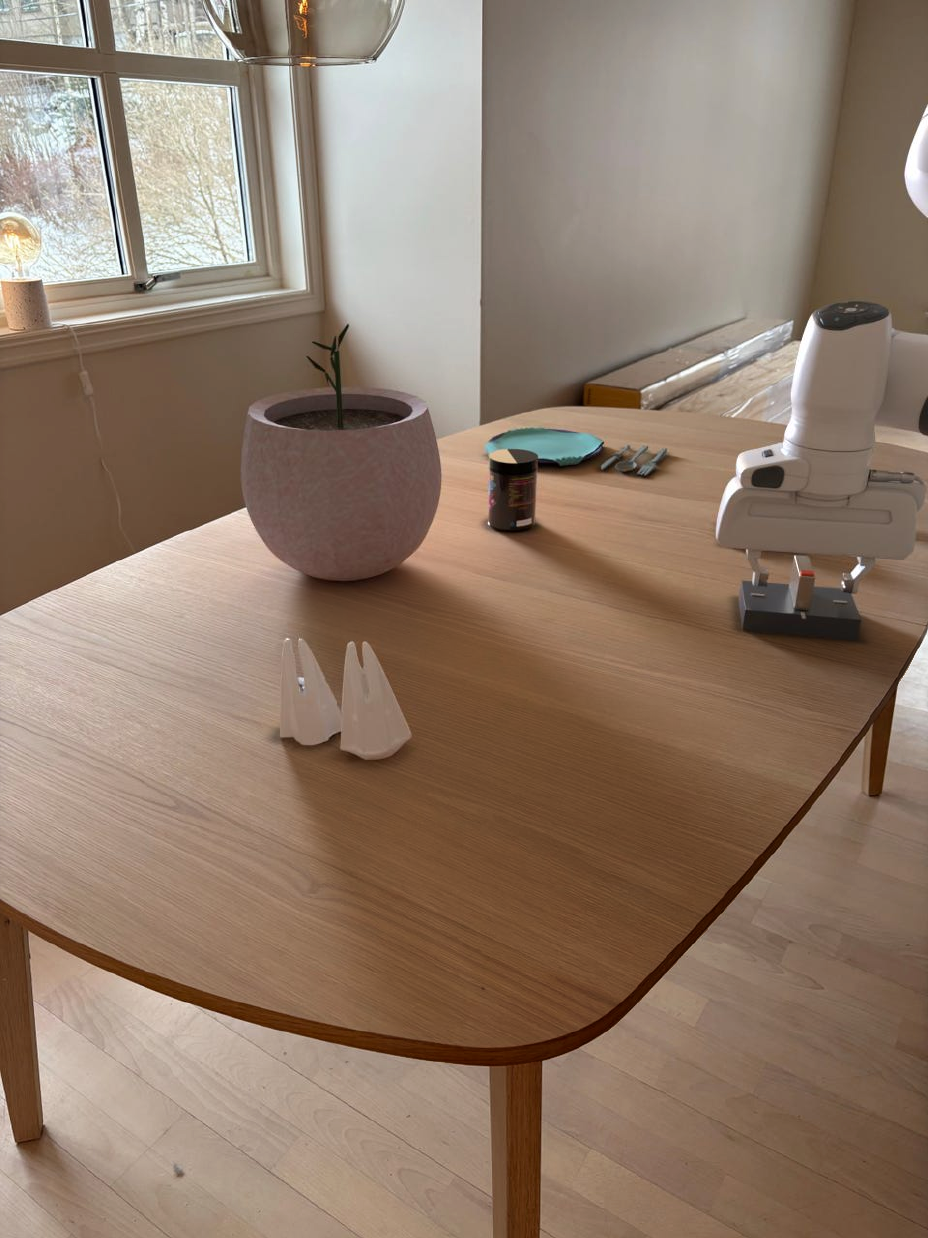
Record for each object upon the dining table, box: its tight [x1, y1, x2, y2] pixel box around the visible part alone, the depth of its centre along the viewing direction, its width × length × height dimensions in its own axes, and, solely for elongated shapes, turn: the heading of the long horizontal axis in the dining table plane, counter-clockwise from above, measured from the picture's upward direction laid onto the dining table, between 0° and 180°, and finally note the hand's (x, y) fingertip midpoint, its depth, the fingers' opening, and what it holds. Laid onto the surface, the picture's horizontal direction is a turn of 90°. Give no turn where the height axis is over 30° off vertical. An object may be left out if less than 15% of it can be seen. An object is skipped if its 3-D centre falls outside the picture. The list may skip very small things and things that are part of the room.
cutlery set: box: [484, 426, 668, 477], centre depth 163 cm, size 20×30×2 cm, turn 64°
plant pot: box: [240, 323, 442, 582], centre depth 114 cm, size 24×24×30 cm
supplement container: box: [487, 449, 539, 534], centre depth 132 cm, size 7×7×10 cm
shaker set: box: [279, 638, 412, 761], centre depth 83 cm, size 12×4×11 cm, turn 64°
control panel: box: [738, 580, 862, 642], centre depth 107 cm, size 12×10×3 cm
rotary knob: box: [788, 554, 816, 611], centre depth 105 cm, size 6×2×4 cm, turn 168°
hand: (803, 588), depth 105 cm, fingers open, 8 cm apart
